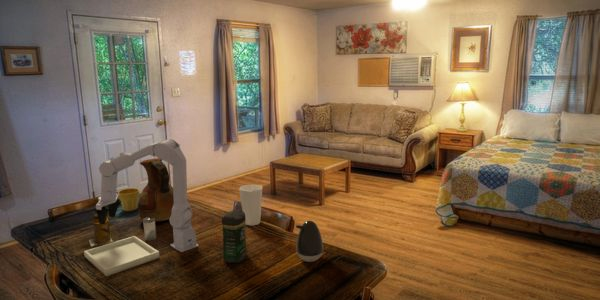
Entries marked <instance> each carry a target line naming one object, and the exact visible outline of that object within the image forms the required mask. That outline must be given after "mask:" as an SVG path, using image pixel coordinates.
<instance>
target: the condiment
mask: <svg viewBox="0 0 600 300" xmlns="http://www.w3.org/2000/svg"><path fill="white" fill-rule="evenodd" d="M92 219H93V221H92V225H93V226H92V227H93V233H94V235H93V236H94V238H91V239H88V243H89V245H90V247H96V246H99V245H106V244H109V243H112V242H114V240H113V239H112V237H111V236H112V235H111V230H110V229H111V228H110V222H109V218H108V216H107V217H106V222H105V224H99V220H98V216H97V214H96V213H95V214H93V218H92ZM95 243H97V244H95ZM98 244H99V245H98Z"/></svg>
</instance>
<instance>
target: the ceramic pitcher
mask: <svg viewBox="0 0 600 300" xmlns="http://www.w3.org/2000/svg"><path fill="white" fill-rule="evenodd" d="M139 165H141V166H142V167H143V168H144V170H145V171H146V175H147V184H146V185H145V186H144V188H143V189H142V190H141V191H140V196H139V197H138V204H137V209H138V211H137V212H138V215H139V218H140V219H141V221H143V219H144V218H146V217H155V223H156V222H164V221H168V220H169V221H170V217H171V214H172V208H173V205H174V196H173V185H171V184H170V174H169V170H168V168H167V166H166V164H165V163H164V162H163V160H162V159H159V158H158V157H156V158H150V159H145V160H141V161H140V162H139Z"/></svg>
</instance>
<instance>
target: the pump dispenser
mask: <svg viewBox="0 0 600 300" xmlns="http://www.w3.org/2000/svg"><path fill="white" fill-rule="evenodd" d="M295 228H296V229H299V231H298V235H297V239H296V246H295V252H296V253H297V255H298V257H299V259H301V260H302V261H304V262H308V263H312V262H313V263H314V262H316V261H317V260H319V259H320V258H321V257H322V255H323V251H324V245H323V238H322V233H321V232H320V229H319V227H318V225H317V224H316V222H314V221H313V220H306V221H304V222H303V223H302V225H300V224H299V225H298V224H296V225H295Z"/></svg>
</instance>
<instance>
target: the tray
mask: <svg viewBox="0 0 600 300" xmlns="http://www.w3.org/2000/svg"><path fill="white" fill-rule="evenodd" d="M83 253H84V254H83V255H84V258H85V259H86V260H88V262H90V263H91V264H92V265H93V266H94V267H95V268H96V269H97V270H99V271H100V273H102V274H103V275H104V276H105V277H109V276H112V275H115V274H117V273H120V272H123V271H126V270H129V269H131V268H134V267H137V266H140V265H142V264H145V263H147V262H151V261H154V260H156V259H159V258H160V251H159V250H158V249H156V248H154V247H153V246H152V245H149V244H148V243H146V242H145V241H143V240H142V239H140V238H139V237H137V236H136V235H132V236H130V237H127V238H123V239H120V240H116V241H113V242H109V243H105V244H101V245H98V246H95V247H93V248H90V249H87V250H86V249H85V250H84V251H83Z"/></svg>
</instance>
